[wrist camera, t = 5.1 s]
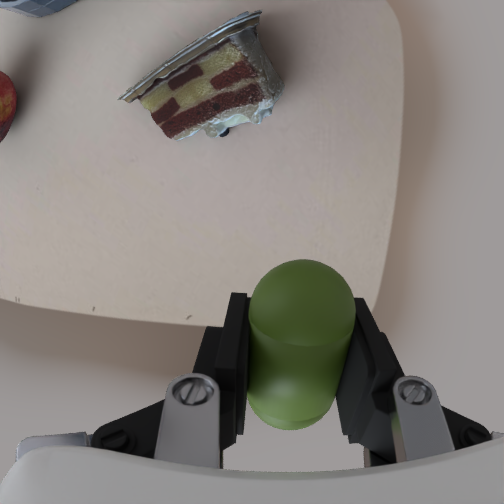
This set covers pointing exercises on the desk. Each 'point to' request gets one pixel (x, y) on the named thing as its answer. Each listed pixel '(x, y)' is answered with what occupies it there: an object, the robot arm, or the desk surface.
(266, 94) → the layered cake slice
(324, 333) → the pickle
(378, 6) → the desk surface
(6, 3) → the bowl
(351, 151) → the desk surface
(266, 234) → the desk surface
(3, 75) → the fruit
